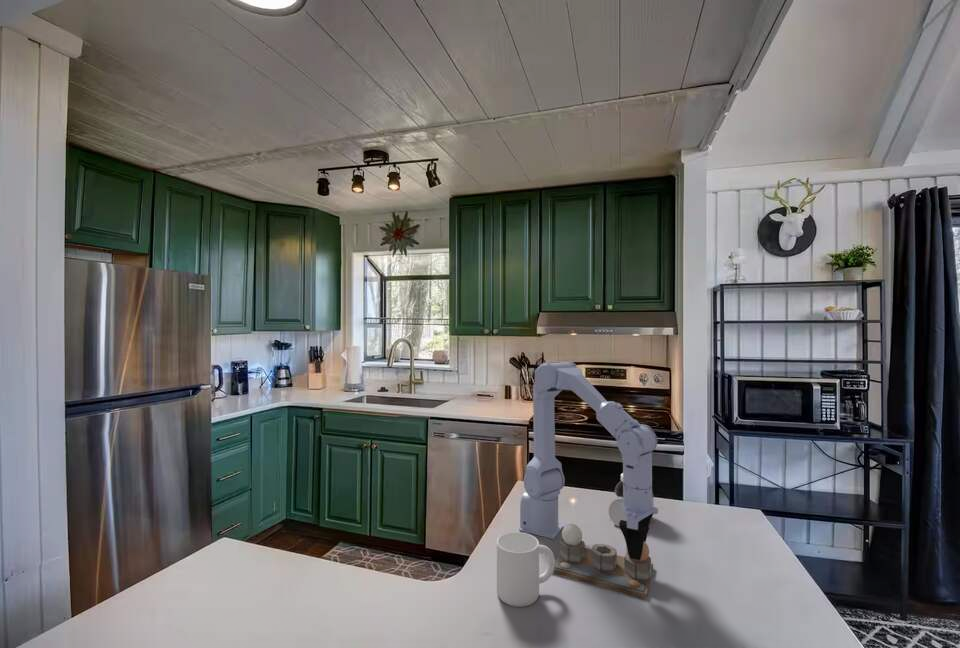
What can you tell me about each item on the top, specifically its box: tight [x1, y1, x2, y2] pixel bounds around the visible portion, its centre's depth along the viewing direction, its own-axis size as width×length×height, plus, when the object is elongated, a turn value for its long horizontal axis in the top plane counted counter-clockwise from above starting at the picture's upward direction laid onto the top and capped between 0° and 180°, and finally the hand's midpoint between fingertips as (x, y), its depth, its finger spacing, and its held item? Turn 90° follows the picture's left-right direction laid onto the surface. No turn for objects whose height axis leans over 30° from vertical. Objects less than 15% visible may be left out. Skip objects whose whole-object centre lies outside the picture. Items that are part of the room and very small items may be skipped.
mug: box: [496, 531, 556, 608], centre depth 84 cm, size 12×8×10 cm
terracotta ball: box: [626, 542, 650, 562], centre depth 90 cm, size 4×4×4 cm
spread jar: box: [608, 472, 655, 527], centre depth 116 cm, size 12×11×12 cm
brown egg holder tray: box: [552, 538, 654, 600], centre depth 92 cm, size 19×12×4 cm, turn 62°
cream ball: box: [561, 523, 583, 546], centre depth 96 cm, size 4×4×4 cm
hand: (637, 549), depth 90 cm, fingers open, 7 cm apart
